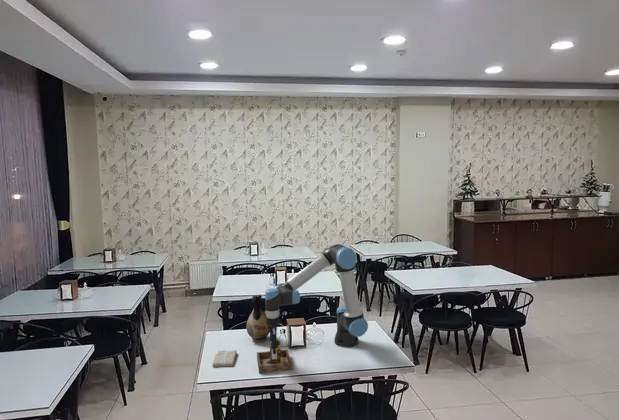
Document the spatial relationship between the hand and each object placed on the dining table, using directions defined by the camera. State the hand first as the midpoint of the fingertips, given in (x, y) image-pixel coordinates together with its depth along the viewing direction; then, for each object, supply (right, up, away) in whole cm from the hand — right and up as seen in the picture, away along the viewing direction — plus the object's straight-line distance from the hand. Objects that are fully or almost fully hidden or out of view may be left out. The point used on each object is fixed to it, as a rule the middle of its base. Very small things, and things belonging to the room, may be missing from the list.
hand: (273, 355), depth 248 cm
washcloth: (-29, -6, +8) cm, 30 cm away
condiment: (0, -4, 0) cm, 4 cm away
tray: (0, -5, +1) cm, 5 cm away
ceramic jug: (-13, -2, +36) cm, 38 cm away
